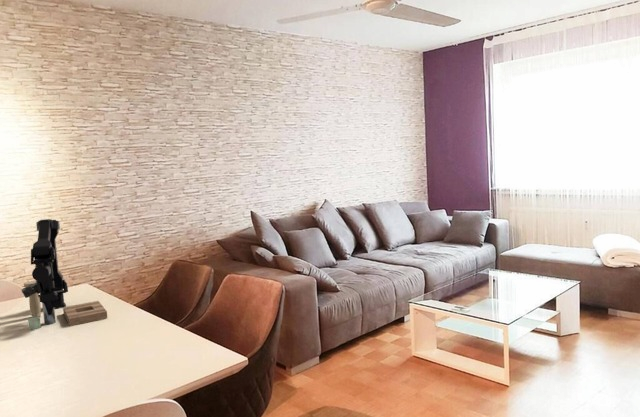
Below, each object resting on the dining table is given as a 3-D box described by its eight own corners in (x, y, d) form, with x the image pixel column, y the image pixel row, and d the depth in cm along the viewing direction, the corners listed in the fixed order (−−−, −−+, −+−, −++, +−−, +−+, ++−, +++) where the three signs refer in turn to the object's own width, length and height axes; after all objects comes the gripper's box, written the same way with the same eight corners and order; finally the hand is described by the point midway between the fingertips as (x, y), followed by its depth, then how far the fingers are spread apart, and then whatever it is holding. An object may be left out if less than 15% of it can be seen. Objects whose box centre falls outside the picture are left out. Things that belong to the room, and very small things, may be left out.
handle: (46, 315, 206) (42, 281, 205) (29, 319, 202) (25, 284, 200) (43, 313, 210) (39, 279, 208) (26, 317, 205) (22, 283, 204)
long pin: (44, 322, 197) (41, 299, 196) (55, 320, 199) (52, 297, 198) (44, 325, 194) (42, 301, 193) (56, 323, 196) (53, 299, 195)
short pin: (28, 328, 192) (27, 318, 191) (40, 325, 194) (39, 316, 193) (29, 330, 188) (28, 320, 188) (41, 328, 190) (40, 318, 190)
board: (63, 313, 208) (63, 307, 208) (98, 307, 216) (98, 300, 215) (69, 326, 191) (68, 318, 191) (107, 318, 199) (106, 311, 199)
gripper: (20, 275, 198) (24, 312, 199) (22, 283, 182) (27, 323, 184) (51, 270, 204) (55, 306, 206) (56, 278, 188) (60, 317, 190)
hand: (49, 313), depth 196 cm, fingers open, 5 cm apart
